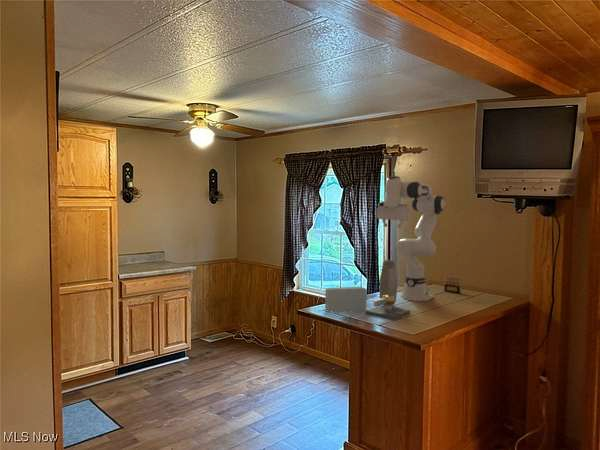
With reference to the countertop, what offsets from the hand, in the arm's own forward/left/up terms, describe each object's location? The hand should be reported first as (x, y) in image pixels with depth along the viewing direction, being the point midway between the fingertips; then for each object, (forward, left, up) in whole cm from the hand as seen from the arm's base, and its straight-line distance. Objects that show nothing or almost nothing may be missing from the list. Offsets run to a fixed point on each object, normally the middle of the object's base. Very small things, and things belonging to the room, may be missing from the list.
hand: (392, 227), depth 264 cm
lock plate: (+15, +7, -48) cm, 51 cm away
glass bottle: (-2, -3, -48) cm, 48 cm away
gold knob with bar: (+21, +7, -42) cm, 47 cm away
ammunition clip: (-68, +10, -48) cm, 84 cm away
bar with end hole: (+25, -15, -48) cm, 57 cm away
